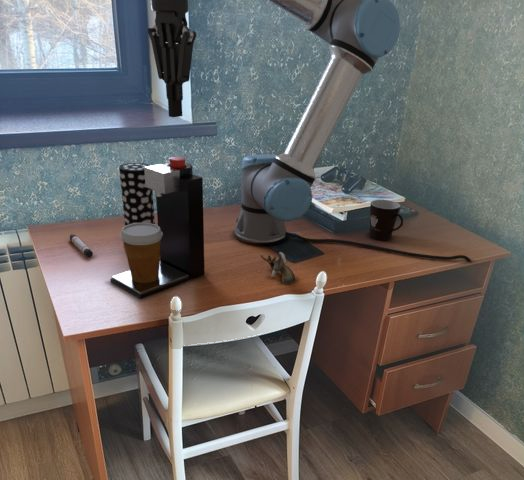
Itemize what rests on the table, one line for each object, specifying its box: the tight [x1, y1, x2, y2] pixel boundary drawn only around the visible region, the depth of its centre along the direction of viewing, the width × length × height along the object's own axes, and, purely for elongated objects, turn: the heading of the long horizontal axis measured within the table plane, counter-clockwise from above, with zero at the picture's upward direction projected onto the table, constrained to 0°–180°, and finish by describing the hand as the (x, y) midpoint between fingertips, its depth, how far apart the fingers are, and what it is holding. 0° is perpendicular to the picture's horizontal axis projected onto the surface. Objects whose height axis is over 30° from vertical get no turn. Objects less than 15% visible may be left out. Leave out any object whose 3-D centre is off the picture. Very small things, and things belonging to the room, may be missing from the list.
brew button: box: [168, 156, 186, 168], centre depth 122 cm, size 4×4×2 cm
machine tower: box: [155, 162, 206, 281], centre depth 129 cm, size 12×6×26 cm, turn 47°
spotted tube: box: [118, 162, 156, 226], centre depth 147 cm, size 8×8×20 cm
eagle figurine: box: [260, 251, 296, 285], centre depth 133 cm, size 8×7×9 cm
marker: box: [69, 234, 94, 258], centre depth 145 cm, size 15×2×2 cm, turn 34°
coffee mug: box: [368, 199, 404, 242], centre depth 158 cm, size 12×9×10 cm
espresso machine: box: [109, 163, 192, 300], centre depth 123 cm, size 12×15×26 cm
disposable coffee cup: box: [119, 223, 163, 283], centre depth 125 cm, size 10×10×12 cm
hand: (175, 116), depth 120 cm, fingers closed
